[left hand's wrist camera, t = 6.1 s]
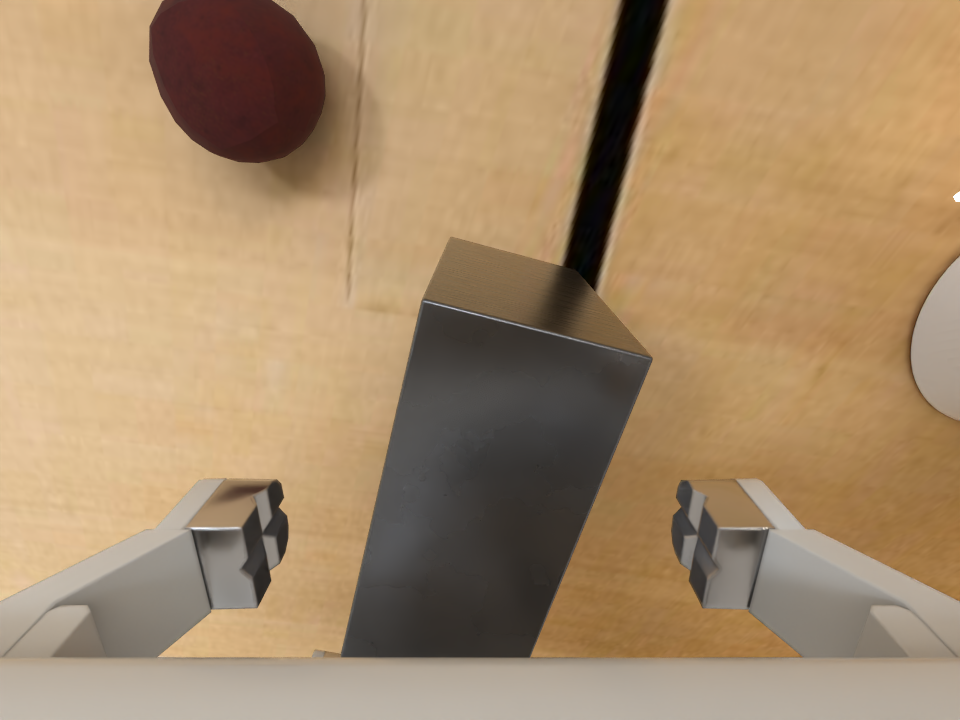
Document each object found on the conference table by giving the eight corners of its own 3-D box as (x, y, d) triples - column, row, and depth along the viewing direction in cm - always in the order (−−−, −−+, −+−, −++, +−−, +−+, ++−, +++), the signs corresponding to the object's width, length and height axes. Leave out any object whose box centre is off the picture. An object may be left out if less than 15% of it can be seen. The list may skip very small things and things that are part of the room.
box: (450, 236, 23) (421, 298, 12) (577, 270, 24) (654, 358, 13) (360, 614, 31) (296, 849, 21) (455, 633, 32) (442, 872, 21)
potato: (247, 182, 29) (179, 187, 23) (173, 35, 27) (73, -6, 20) (363, 134, 29) (327, 125, 22) (298, -23, 26) (236, -86, 19)
